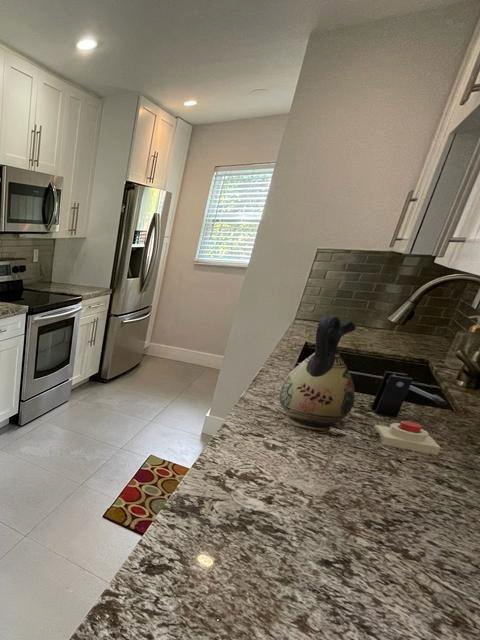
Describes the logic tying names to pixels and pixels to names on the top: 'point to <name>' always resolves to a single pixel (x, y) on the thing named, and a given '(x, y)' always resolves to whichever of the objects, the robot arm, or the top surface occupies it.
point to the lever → (427, 395)
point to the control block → (407, 439)
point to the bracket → (391, 394)
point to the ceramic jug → (320, 381)
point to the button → (410, 426)
